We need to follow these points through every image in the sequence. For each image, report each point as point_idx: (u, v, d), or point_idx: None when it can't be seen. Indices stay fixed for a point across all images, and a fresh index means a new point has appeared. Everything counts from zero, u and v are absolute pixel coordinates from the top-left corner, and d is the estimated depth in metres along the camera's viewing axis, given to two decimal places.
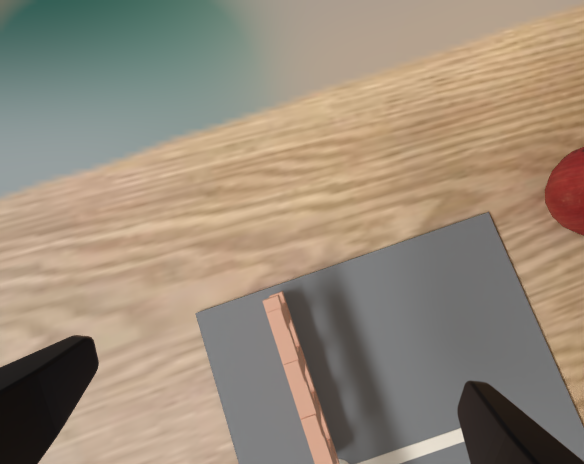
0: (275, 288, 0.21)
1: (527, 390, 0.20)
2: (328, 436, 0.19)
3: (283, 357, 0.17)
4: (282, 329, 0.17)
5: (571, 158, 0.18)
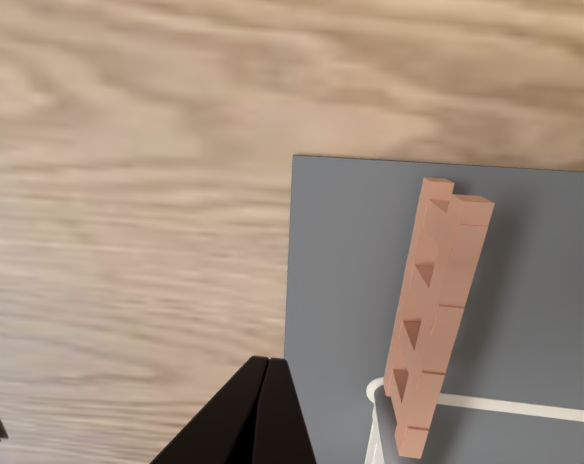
0: (431, 168, 0.13)
1: None
2: None
3: (443, 296, 0.10)
4: (469, 258, 0.09)
5: None
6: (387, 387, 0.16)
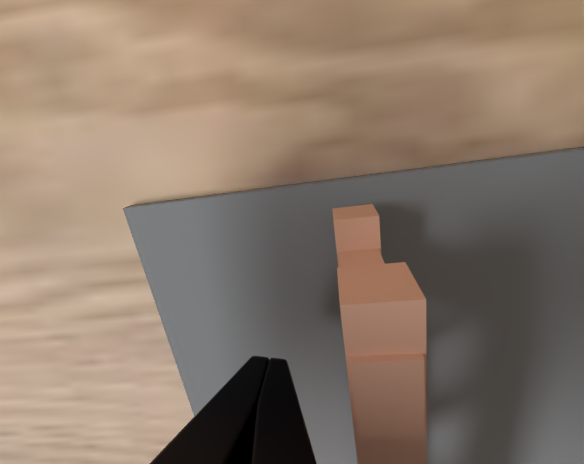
0: (347, 187, 0.07)
1: None
2: None
3: None
4: (403, 432, 0.04)
5: None
6: None
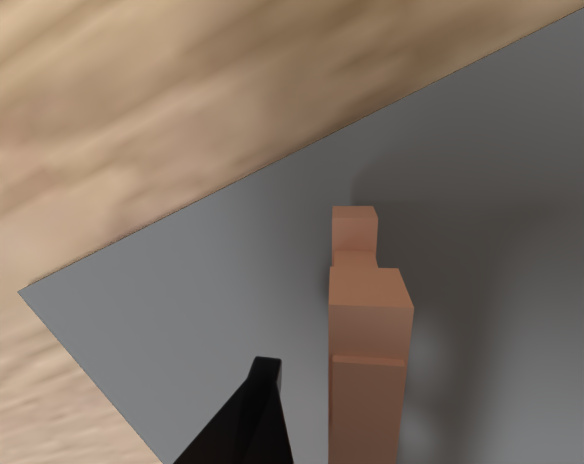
0: (157, 229, 0.08)
1: None
2: None
3: None
4: (376, 433, 0.04)
5: None
6: None
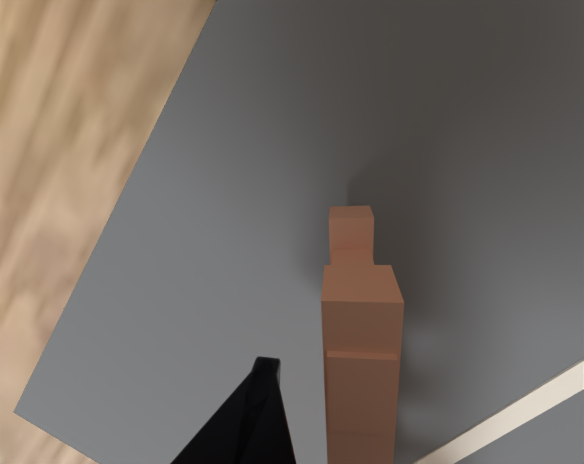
0: (60, 328, 0.10)
1: None
2: None
3: None
4: (372, 427, 0.04)
5: None
6: None
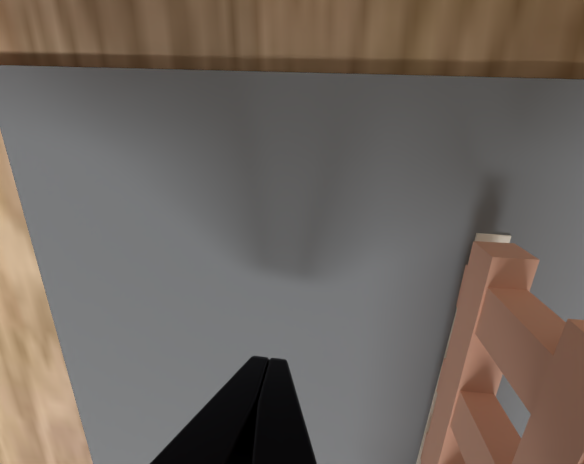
0: None
1: (453, 186, 0.07)
2: None
3: None
4: None
5: None
6: None
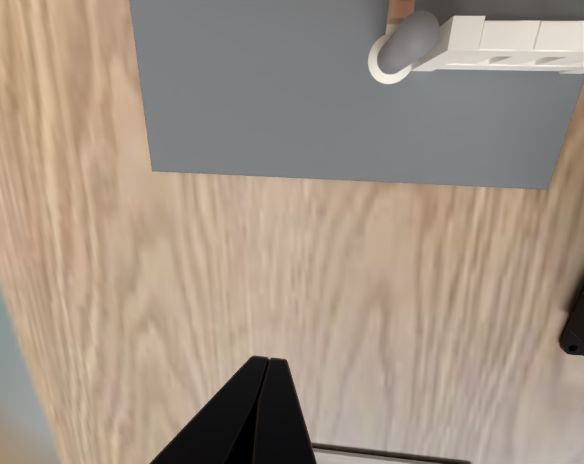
0: (139, 56, 0.16)
1: None
2: None
3: None
4: None
5: None
6: (392, 1, 0.13)
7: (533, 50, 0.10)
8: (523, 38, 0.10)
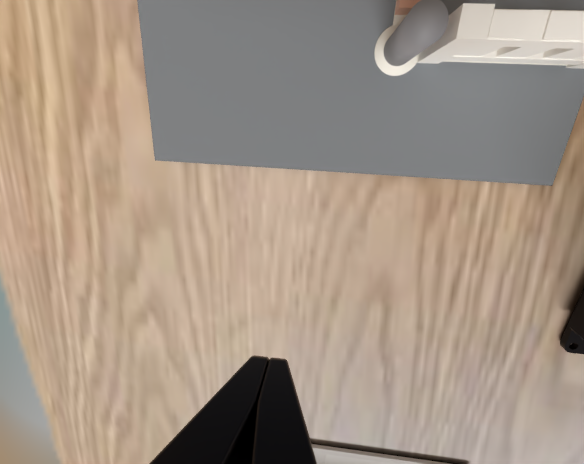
0: (145, 43, 0.16)
1: None
2: None
3: None
4: None
5: None
6: None
7: (542, 40, 0.10)
8: (532, 27, 0.10)
